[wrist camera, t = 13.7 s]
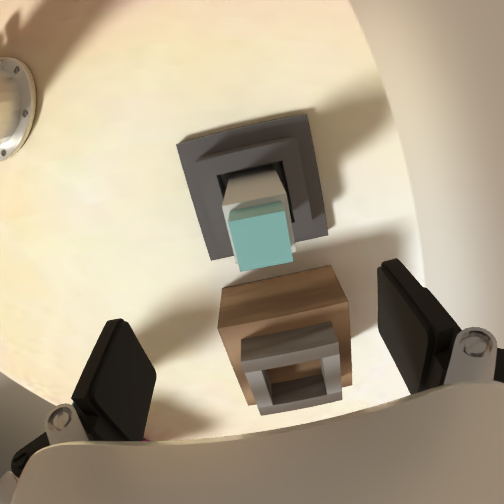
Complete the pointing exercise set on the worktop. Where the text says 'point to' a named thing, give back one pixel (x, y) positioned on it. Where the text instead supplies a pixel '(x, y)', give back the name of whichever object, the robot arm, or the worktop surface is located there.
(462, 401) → the robot arm
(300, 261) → the worktop surface
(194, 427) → the worktop surface
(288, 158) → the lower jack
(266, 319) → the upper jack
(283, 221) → the plug
